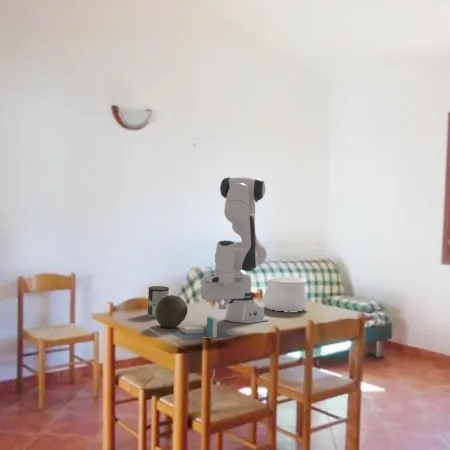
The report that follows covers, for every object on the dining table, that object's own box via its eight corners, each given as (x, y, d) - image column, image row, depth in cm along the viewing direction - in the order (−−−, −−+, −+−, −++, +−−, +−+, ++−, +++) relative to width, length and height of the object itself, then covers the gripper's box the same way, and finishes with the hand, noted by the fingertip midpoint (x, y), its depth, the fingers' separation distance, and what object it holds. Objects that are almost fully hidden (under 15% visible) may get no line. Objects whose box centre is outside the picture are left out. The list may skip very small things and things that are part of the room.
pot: (305, 315, 338) (307, 283, 337) (260, 311, 343) (261, 280, 342) (308, 306, 363) (309, 277, 363) (265, 303, 368) (267, 274, 367)
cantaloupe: (165, 332, 282) (166, 299, 281) (149, 326, 294) (151, 294, 293) (192, 329, 290) (193, 297, 290) (175, 323, 302) (177, 292, 301)
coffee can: (143, 315, 318) (144, 287, 317) (155, 312, 327) (156, 285, 326) (159, 318, 313) (160, 289, 312) (172, 315, 322) (173, 287, 321)
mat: (216, 329, 293) (216, 328, 293) (233, 337, 278) (233, 336, 278) (168, 332, 282) (168, 331, 282) (183, 341, 267) (183, 340, 267)
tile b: (210, 334, 280) (211, 316, 280) (216, 337, 275) (217, 318, 275) (206, 334, 279) (207, 316, 279) (212, 337, 274) (213, 319, 274)
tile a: (197, 325, 287) (181, 326, 283) (203, 328, 282) (187, 329, 278) (197, 330, 287) (181, 331, 284) (203, 332, 282) (186, 334, 278)
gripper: (241, 276, 286) (239, 307, 286) (200, 277, 276) (198, 308, 276) (248, 278, 280) (246, 309, 280) (206, 278, 270) (205, 311, 271)
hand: (222, 309), depth 278 cm, fingers closed
